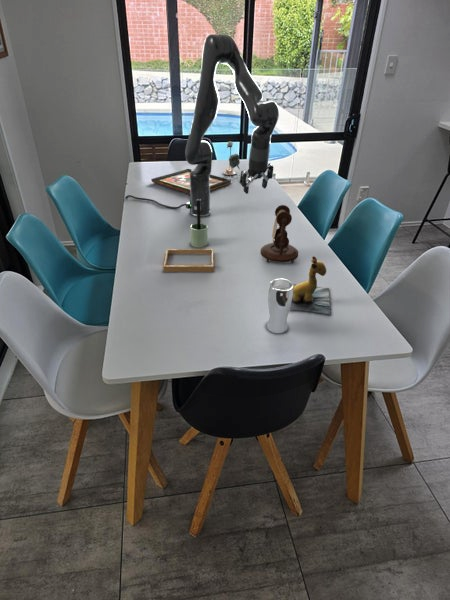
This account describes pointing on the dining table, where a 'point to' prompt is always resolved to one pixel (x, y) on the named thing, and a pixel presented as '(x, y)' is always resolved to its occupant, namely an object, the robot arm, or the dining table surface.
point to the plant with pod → (232, 161)
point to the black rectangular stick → (198, 215)
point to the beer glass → (279, 304)
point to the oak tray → (188, 267)
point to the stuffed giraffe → (312, 292)
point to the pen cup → (199, 235)
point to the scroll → (280, 239)
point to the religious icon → (187, 181)
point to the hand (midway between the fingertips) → (254, 190)
